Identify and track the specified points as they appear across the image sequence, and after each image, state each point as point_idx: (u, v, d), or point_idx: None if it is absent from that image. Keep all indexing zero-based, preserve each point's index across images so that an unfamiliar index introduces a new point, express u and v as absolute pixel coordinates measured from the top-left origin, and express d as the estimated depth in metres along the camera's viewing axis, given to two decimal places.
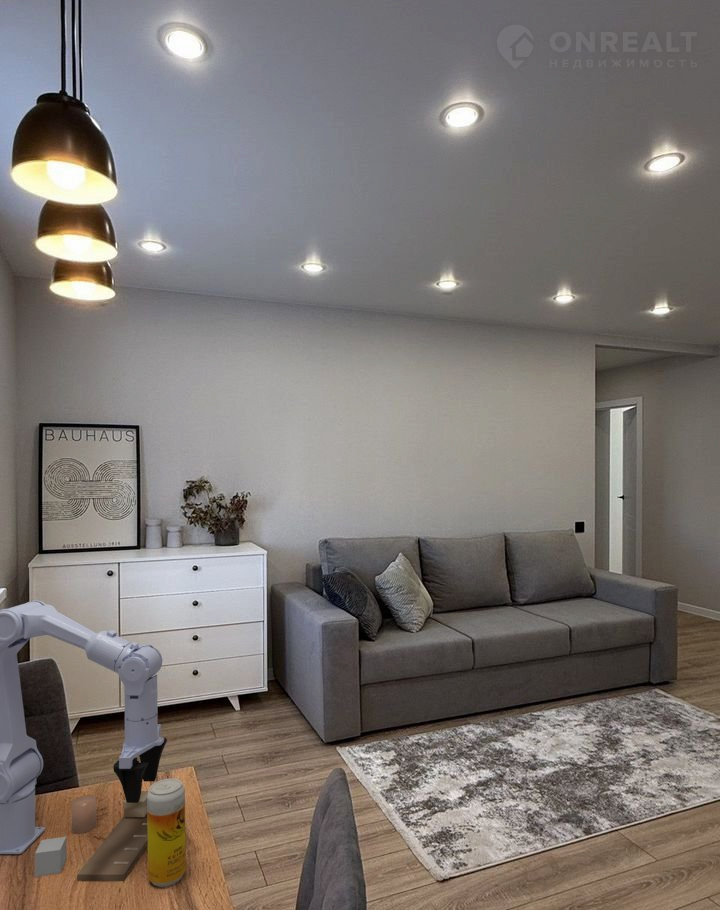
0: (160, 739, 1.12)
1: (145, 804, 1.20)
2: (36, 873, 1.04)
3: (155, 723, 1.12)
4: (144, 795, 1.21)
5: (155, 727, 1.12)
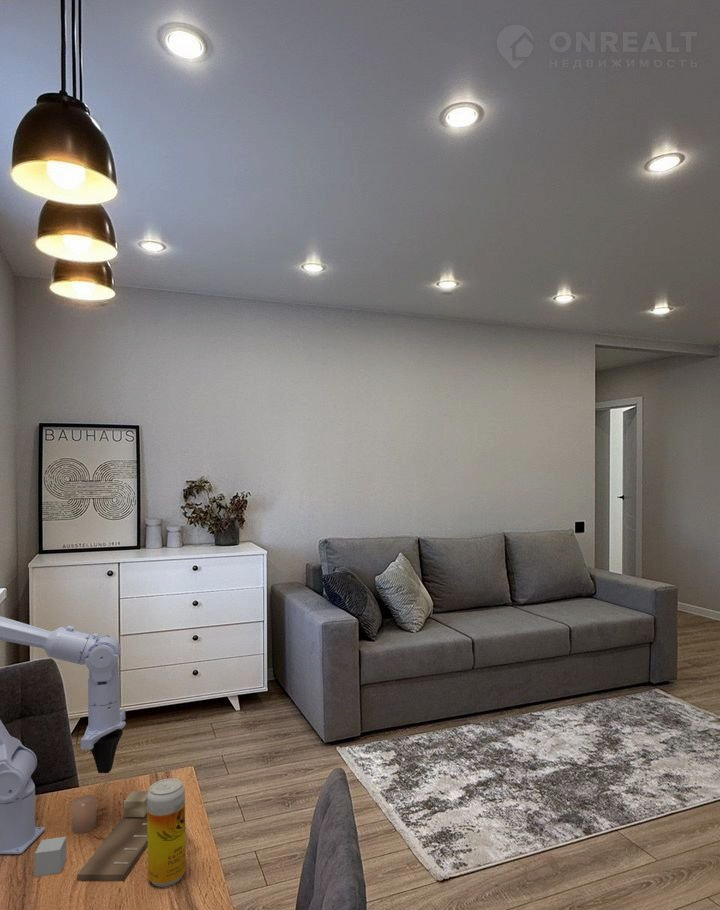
0: (122, 723, 1.19)
1: (145, 804, 1.20)
2: (36, 873, 1.04)
3: (117, 708, 1.19)
4: (144, 795, 1.21)
5: (117, 712, 1.19)
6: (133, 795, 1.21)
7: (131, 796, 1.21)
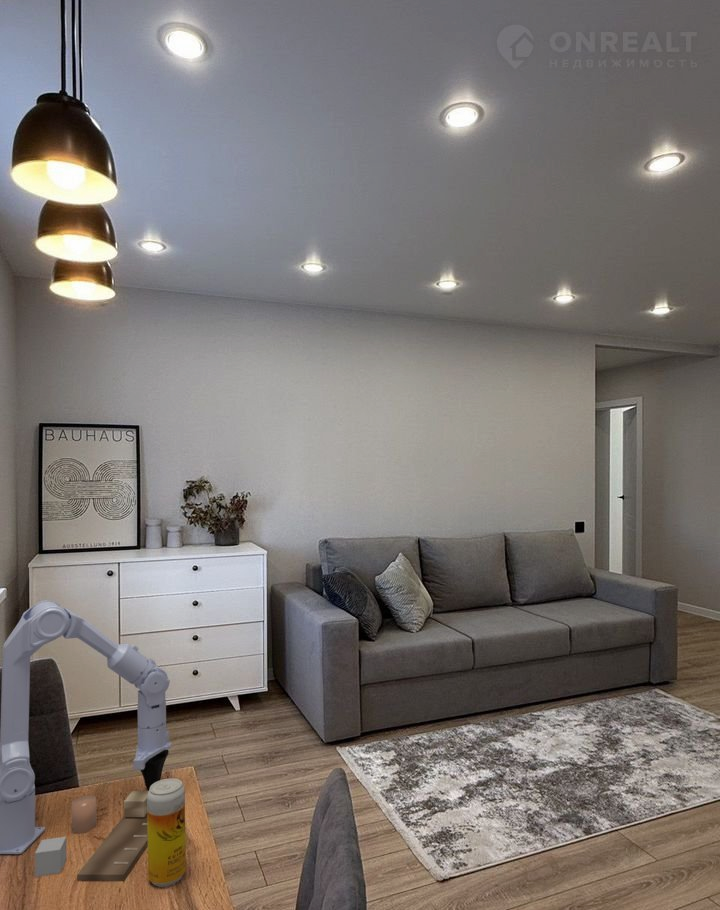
0: (168, 744, 1.29)
1: (145, 804, 1.20)
2: (36, 873, 1.04)
3: (164, 730, 1.29)
4: (144, 795, 1.21)
5: (164, 733, 1.29)
6: (133, 795, 1.21)
7: (131, 796, 1.21)
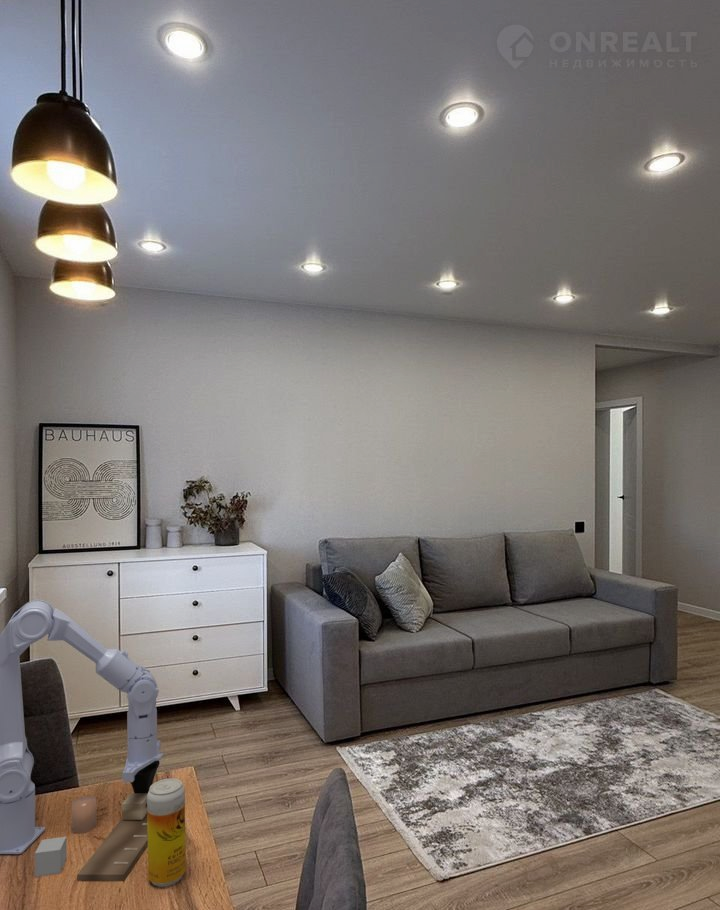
0: (159, 755, 1.24)
1: (143, 806, 1.19)
2: (36, 873, 1.04)
3: (155, 740, 1.24)
4: (143, 797, 1.20)
5: (155, 744, 1.23)
6: (131, 797, 1.21)
7: (129, 798, 1.20)
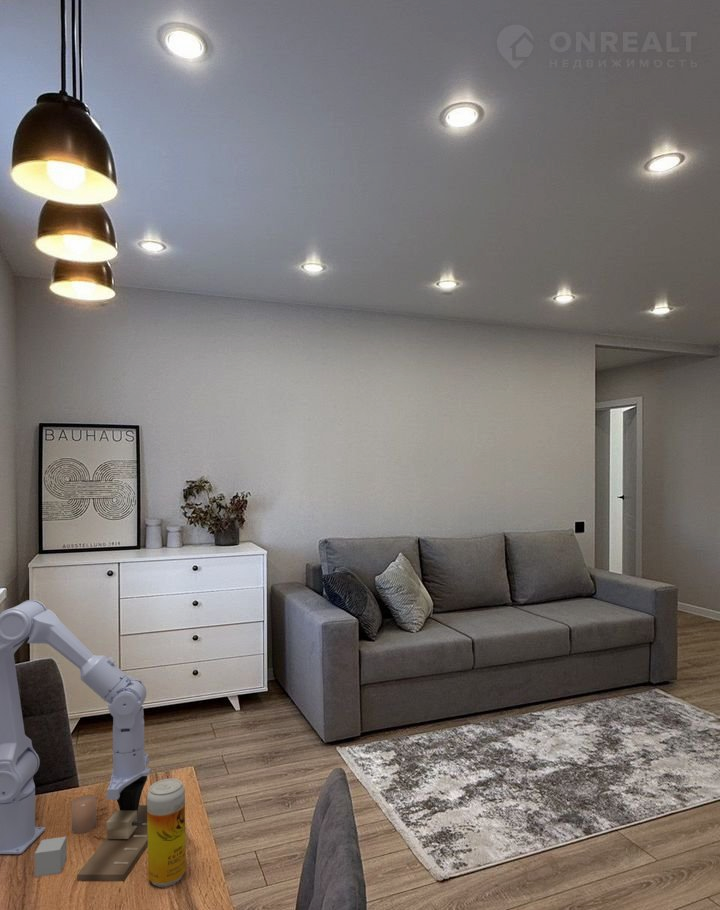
0: (147, 769, 1.17)
1: (129, 825, 1.12)
2: (36, 873, 1.04)
3: (142, 754, 1.17)
4: (129, 815, 1.14)
5: (142, 758, 1.17)
6: (116, 815, 1.14)
7: (114, 816, 1.14)
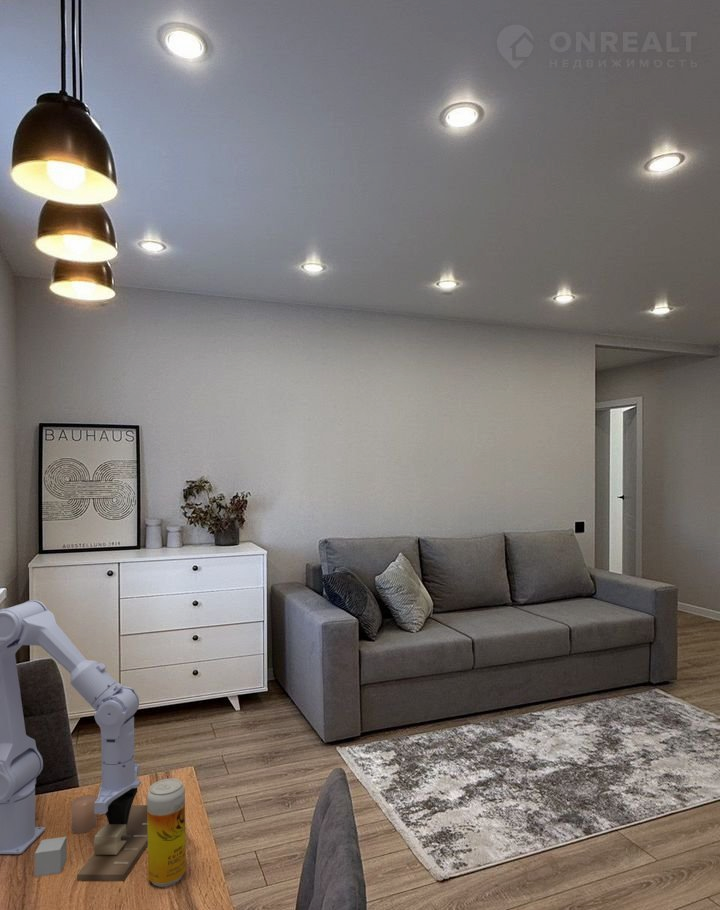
0: (137, 781, 1.13)
1: (118, 840, 1.08)
2: (36, 873, 1.04)
3: (132, 766, 1.12)
4: (118, 829, 1.09)
5: (132, 770, 1.12)
6: (104, 829, 1.09)
7: (102, 830, 1.09)
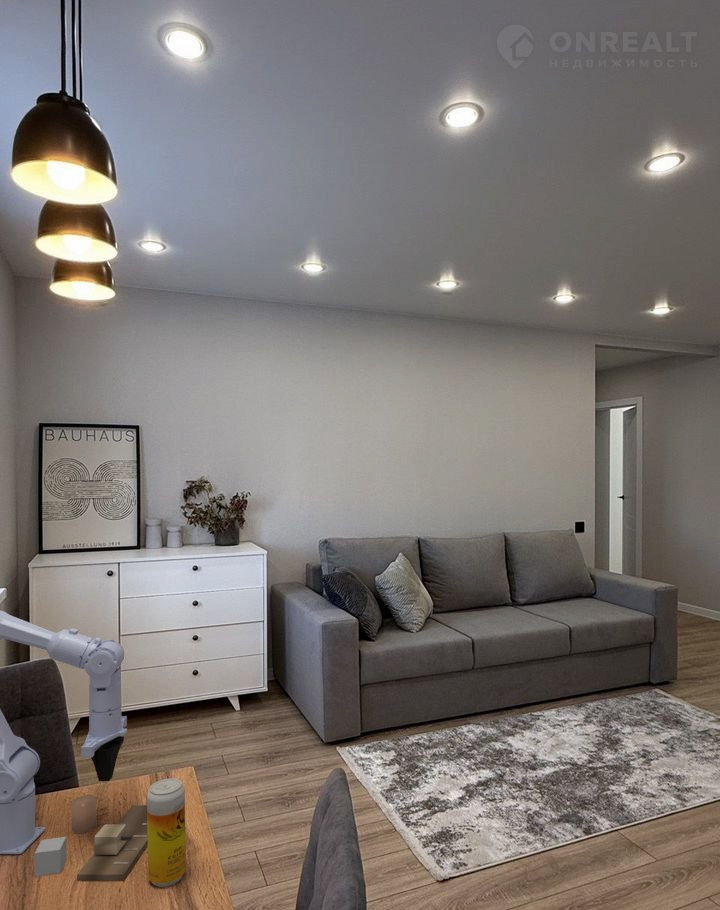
0: (123, 730, 1.17)
1: (118, 840, 1.08)
2: (36, 873, 1.04)
3: (118, 714, 1.17)
4: (118, 829, 1.09)
5: (118, 718, 1.16)
6: (104, 829, 1.09)
7: (102, 830, 1.09)
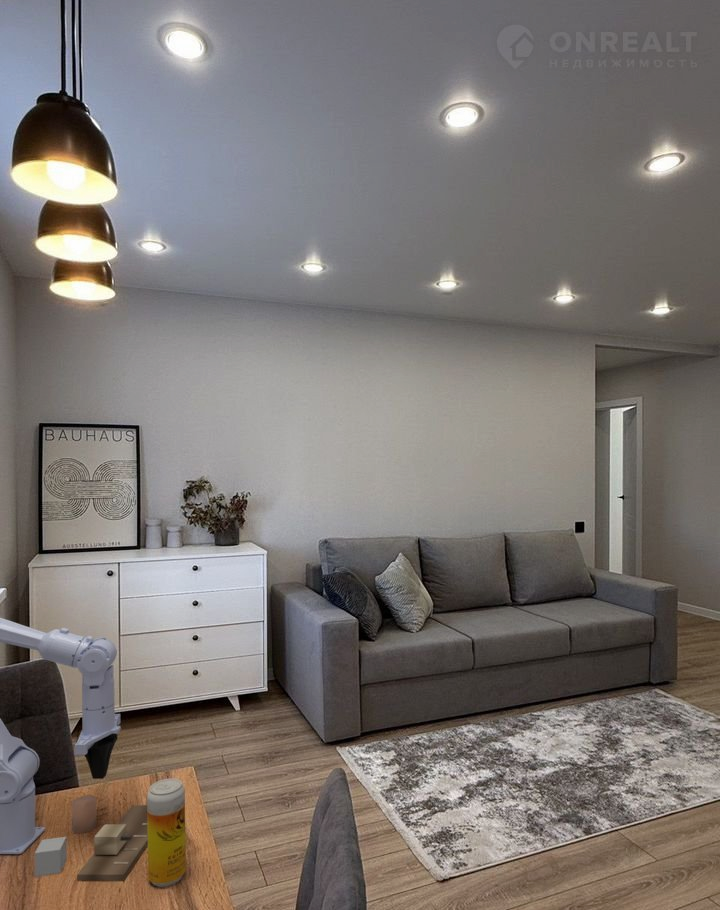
0: (117, 727, 1.17)
1: (118, 840, 1.08)
2: (36, 873, 1.04)
3: (111, 712, 1.17)
4: (118, 829, 1.09)
5: (111, 716, 1.17)
6: (104, 829, 1.09)
7: (102, 830, 1.09)
